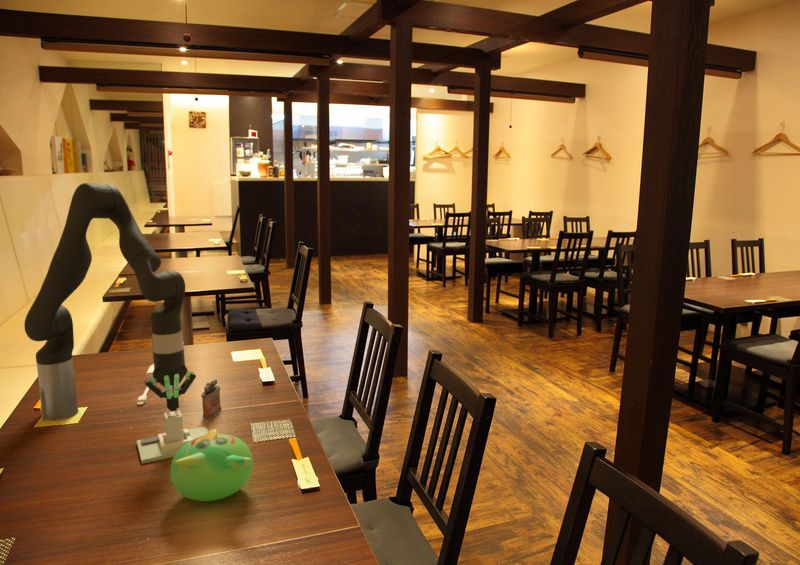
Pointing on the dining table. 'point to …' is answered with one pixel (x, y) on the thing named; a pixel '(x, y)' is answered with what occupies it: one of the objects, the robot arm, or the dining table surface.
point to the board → (165, 445)
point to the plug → (173, 426)
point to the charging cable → (143, 397)
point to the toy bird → (211, 467)
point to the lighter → (211, 400)
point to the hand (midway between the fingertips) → (173, 410)
